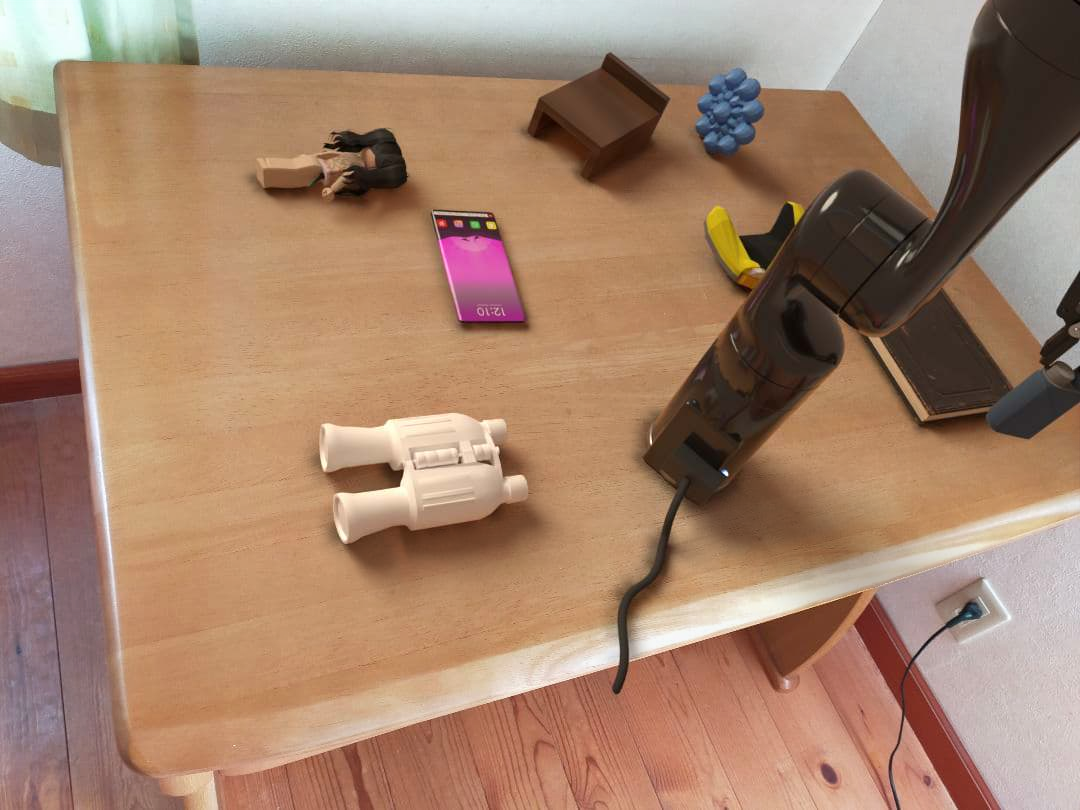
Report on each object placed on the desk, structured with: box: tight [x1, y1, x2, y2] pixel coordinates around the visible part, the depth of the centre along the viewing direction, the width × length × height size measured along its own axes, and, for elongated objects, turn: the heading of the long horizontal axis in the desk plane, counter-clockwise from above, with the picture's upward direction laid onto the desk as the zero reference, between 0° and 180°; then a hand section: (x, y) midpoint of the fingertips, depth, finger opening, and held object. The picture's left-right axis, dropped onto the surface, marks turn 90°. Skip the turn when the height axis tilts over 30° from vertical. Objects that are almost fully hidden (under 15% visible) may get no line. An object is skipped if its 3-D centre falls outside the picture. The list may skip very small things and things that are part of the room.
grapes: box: [694, 67, 765, 158], centre depth 114 cm, size 12×7×12 cm, turn 20°
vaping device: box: [985, 360, 1080, 440], centre depth 76 cm, size 3×5×12 cm, turn 89°
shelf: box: [526, 51, 671, 181], centre depth 109 cm, size 14×10×7 cm
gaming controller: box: [703, 201, 806, 290], centre depth 105 cm, size 15×6×10 cm
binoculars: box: [318, 412, 529, 545], centre depth 73 cm, size 10×16×5 cm, turn 109°
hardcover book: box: [860, 287, 1015, 426], centre depth 108 cm, size 16×23×2 cm
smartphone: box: [430, 209, 527, 324], centre depth 91 cm, size 7×15×1 cm, turn 16°
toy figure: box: [255, 127, 410, 202], centre depth 90 cm, size 7×6×15 cm
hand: (1070, 379), depth 75 cm, fingers closed on vaping device, 4 cm apart
